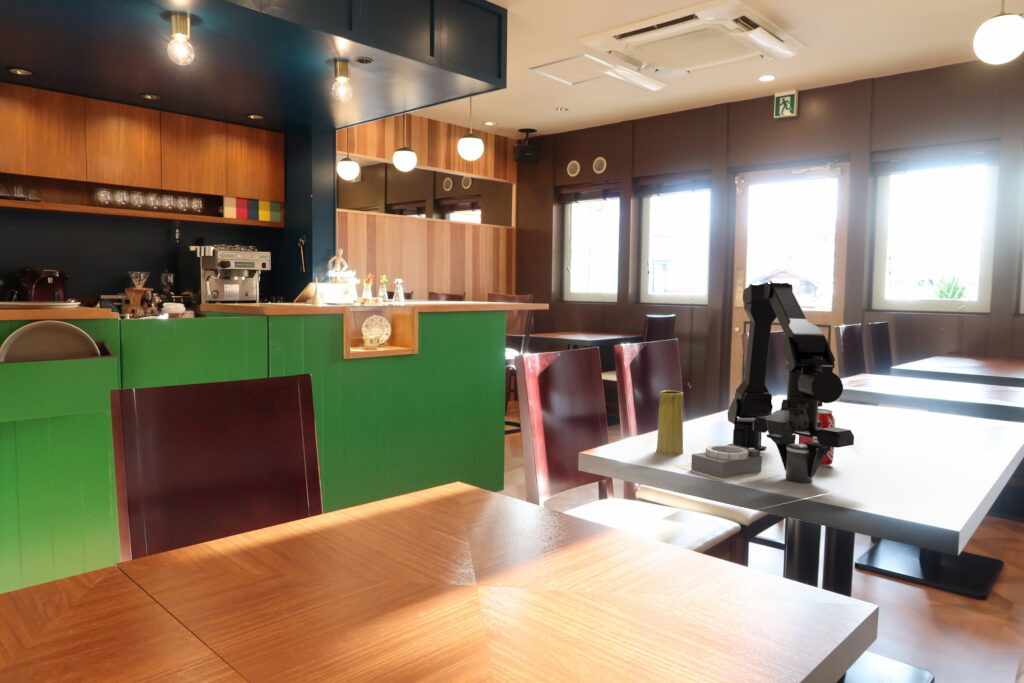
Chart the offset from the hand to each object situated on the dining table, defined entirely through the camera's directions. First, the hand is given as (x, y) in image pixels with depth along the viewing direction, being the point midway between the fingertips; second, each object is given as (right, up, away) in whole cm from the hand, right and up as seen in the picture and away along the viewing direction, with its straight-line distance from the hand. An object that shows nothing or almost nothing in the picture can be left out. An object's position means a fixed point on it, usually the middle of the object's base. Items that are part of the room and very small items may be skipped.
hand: (799, 473), depth 134 cm
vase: (-20, 0, +23) cm, 30 cm away
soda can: (+10, -1, +15) cm, 18 cm away
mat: (-12, -1, +6) cm, 14 cm away
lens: (0, -2, 0) cm, 2 cm away
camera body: (-12, -1, +6) cm, 14 cm away
